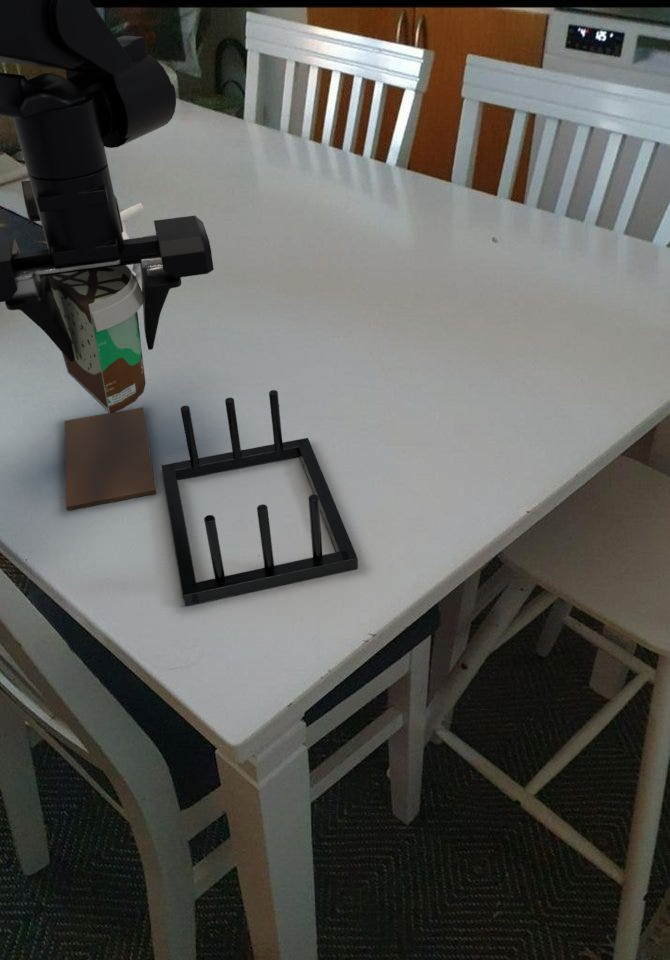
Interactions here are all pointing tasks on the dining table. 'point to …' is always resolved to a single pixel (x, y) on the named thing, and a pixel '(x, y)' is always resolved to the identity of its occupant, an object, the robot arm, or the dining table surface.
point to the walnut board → (107, 459)
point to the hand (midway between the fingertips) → (112, 353)
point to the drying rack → (249, 457)
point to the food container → (103, 332)
